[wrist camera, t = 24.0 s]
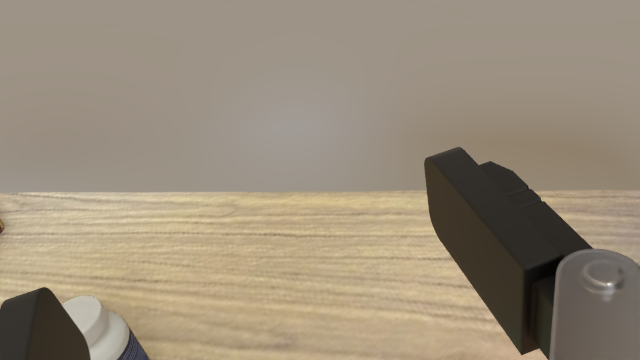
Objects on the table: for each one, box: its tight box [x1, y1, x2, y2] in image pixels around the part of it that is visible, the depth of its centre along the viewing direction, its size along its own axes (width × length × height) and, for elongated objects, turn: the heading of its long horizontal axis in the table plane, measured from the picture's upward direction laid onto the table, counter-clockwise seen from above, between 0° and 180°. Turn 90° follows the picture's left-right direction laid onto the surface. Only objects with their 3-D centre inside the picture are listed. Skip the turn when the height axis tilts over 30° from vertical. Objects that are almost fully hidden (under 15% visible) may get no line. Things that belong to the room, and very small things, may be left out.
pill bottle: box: [62, 295, 150, 360], centre depth 41 cm, size 5×5×10 cm
